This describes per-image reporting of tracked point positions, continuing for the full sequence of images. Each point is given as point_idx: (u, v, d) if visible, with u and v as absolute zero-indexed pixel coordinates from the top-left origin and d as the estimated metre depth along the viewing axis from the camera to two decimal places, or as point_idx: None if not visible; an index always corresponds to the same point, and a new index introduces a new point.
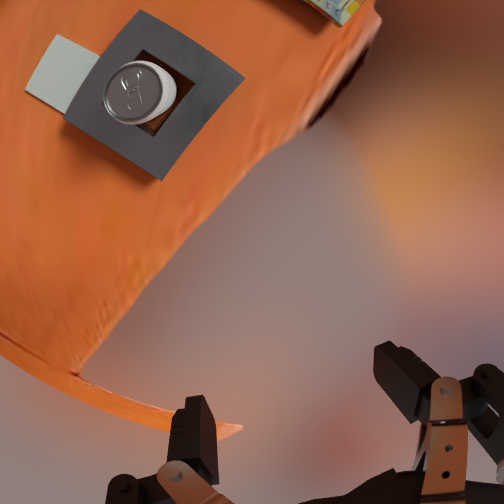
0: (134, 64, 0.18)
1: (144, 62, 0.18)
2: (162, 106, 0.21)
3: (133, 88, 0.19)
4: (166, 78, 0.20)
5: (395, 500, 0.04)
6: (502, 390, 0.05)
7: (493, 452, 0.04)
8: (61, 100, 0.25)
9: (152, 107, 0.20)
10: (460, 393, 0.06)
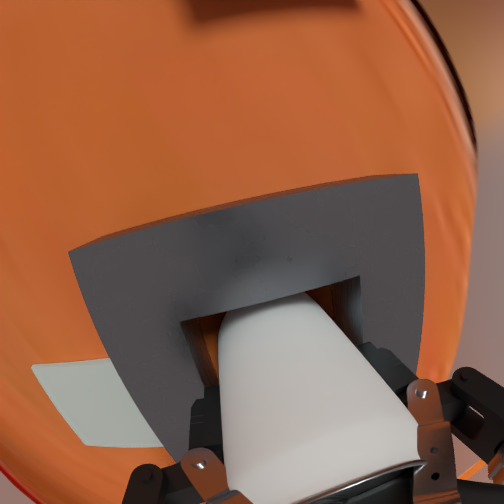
0: None
1: (292, 465, 0.05)
2: None
3: None
4: (392, 420, 0.05)
5: (395, 500, 0.04)
6: (484, 392, 0.06)
7: (481, 451, 0.05)
8: (148, 437, 0.16)
9: None
10: (436, 396, 0.07)
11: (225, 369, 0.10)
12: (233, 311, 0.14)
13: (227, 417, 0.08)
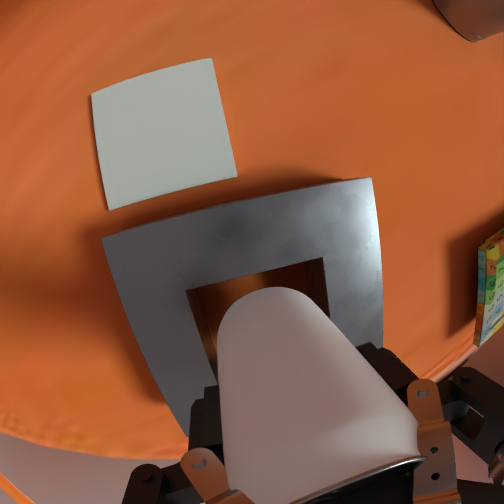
0: None
1: (295, 461, 0.05)
2: None
3: None
4: (393, 417, 0.05)
5: (395, 500, 0.04)
6: (484, 392, 0.06)
7: (481, 451, 0.05)
8: (121, 182, 0.16)
9: None
10: (436, 396, 0.07)
11: (225, 368, 0.10)
12: (233, 311, 0.14)
13: (227, 415, 0.08)
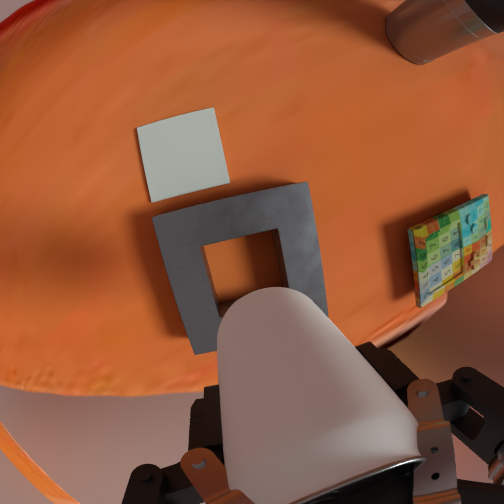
0: None
1: (295, 461, 0.05)
2: None
3: None
4: (393, 417, 0.05)
5: (395, 500, 0.04)
6: (484, 392, 0.06)
7: (481, 451, 0.05)
8: (160, 185, 0.29)
9: None
10: (436, 396, 0.07)
11: (225, 368, 0.10)
12: (233, 311, 0.14)
13: (227, 415, 0.08)
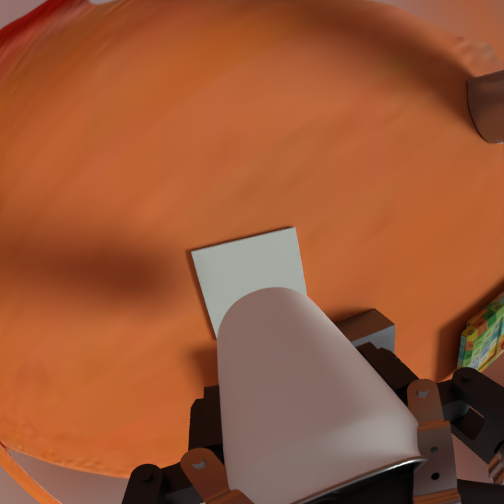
0: None
1: (295, 462, 0.05)
2: None
3: None
4: (393, 417, 0.05)
5: (395, 500, 0.04)
6: (484, 392, 0.06)
7: (481, 451, 0.05)
8: None
9: None
10: (436, 396, 0.07)
11: (225, 368, 0.10)
12: (233, 311, 0.14)
13: (227, 415, 0.08)
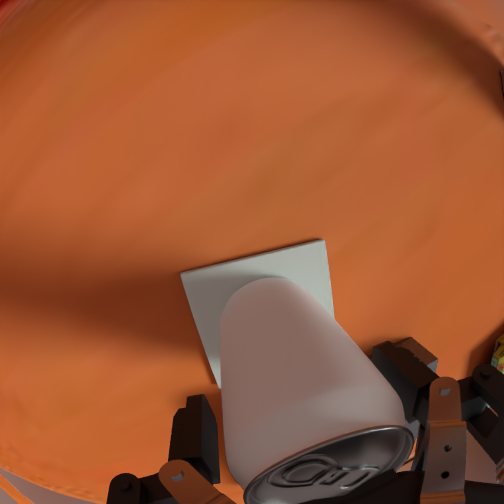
0: (278, 463, 0.05)
1: (285, 422, 0.06)
2: None
3: (326, 473, 0.06)
4: (374, 388, 0.07)
5: (395, 500, 0.04)
6: (501, 390, 0.05)
7: (492, 452, 0.04)
8: None
9: (398, 451, 0.06)
10: (458, 393, 0.06)
11: (226, 348, 0.12)
12: (235, 298, 0.15)
13: (228, 388, 0.09)
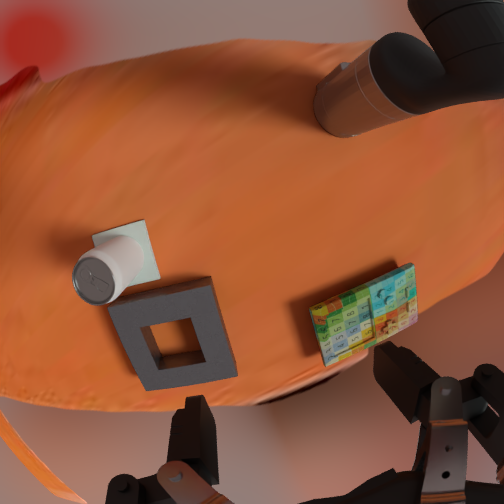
0: (76, 264, 0.26)
1: (82, 256, 0.26)
2: (119, 270, 0.28)
3: (91, 278, 0.26)
4: (102, 252, 0.27)
5: (395, 500, 0.04)
6: (502, 390, 0.05)
7: (493, 452, 0.04)
8: None
9: (112, 278, 0.27)
10: (460, 393, 0.06)
11: None
12: None
13: None
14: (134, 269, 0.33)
